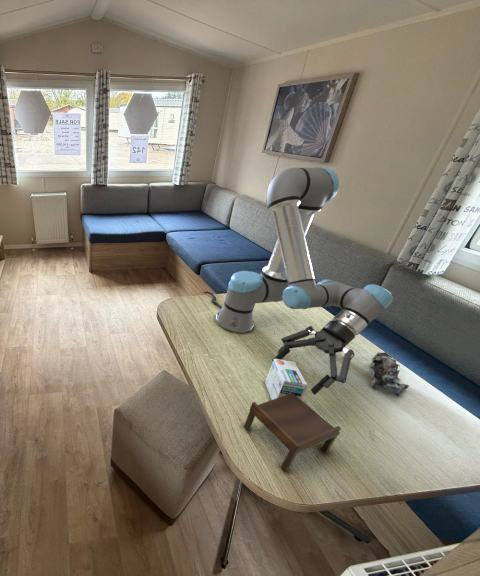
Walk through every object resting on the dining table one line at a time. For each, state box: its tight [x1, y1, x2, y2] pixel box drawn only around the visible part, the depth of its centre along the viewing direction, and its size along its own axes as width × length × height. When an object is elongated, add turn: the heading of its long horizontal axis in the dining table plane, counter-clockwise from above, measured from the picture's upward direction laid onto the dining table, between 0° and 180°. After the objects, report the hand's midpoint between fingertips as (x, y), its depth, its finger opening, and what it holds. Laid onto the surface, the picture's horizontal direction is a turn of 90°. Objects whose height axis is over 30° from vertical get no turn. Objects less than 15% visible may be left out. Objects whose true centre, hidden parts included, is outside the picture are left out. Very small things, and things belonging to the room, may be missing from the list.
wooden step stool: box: [243, 393, 342, 473], centre depth 83 cm, size 14×16×10 cm
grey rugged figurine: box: [370, 351, 410, 397], centre depth 105 cm, size 12×11×15 cm
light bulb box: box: [264, 358, 309, 401], centre depth 97 cm, size 11×7×11 cm, turn 168°
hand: (292, 376), depth 96 cm, fingers open, 13 cm apart
